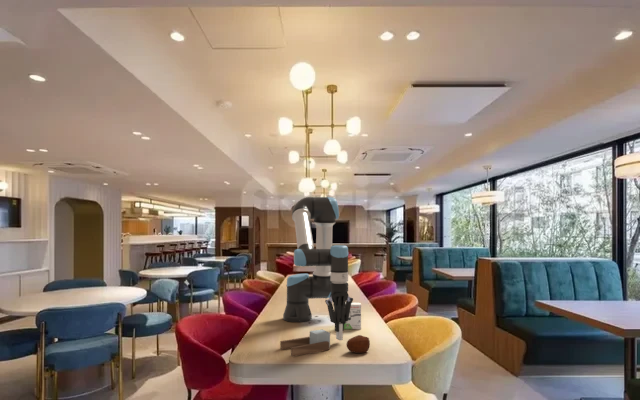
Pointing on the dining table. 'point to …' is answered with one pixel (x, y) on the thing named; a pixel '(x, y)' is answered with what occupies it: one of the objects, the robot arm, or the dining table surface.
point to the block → (319, 336)
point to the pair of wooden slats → (303, 346)
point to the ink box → (354, 317)
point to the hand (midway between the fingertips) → (339, 339)
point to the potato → (358, 344)
